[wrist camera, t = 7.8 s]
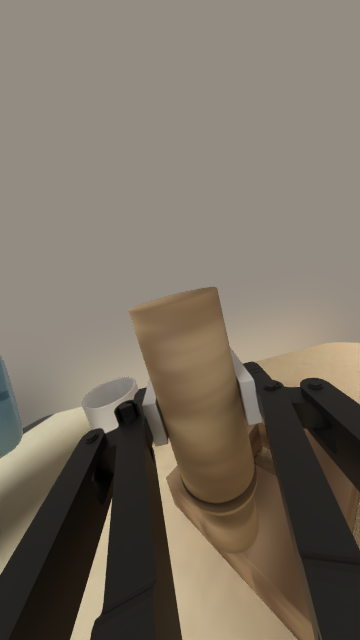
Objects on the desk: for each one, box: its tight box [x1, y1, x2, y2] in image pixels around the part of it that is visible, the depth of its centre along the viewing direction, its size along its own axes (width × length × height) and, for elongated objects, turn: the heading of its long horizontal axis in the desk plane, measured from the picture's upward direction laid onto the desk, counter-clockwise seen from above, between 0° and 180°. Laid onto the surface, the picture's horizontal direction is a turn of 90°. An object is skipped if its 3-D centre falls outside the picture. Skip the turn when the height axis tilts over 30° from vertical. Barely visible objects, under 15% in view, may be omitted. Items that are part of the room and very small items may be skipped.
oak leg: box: [129, 287, 259, 554], centre depth 12 cm, size 5×5×16 cm
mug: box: [82, 377, 138, 433], centre depth 35 cm, size 9×12×11 cm
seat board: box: [166, 416, 360, 640], centre depth 24 cm, size 15×20×4 cm
